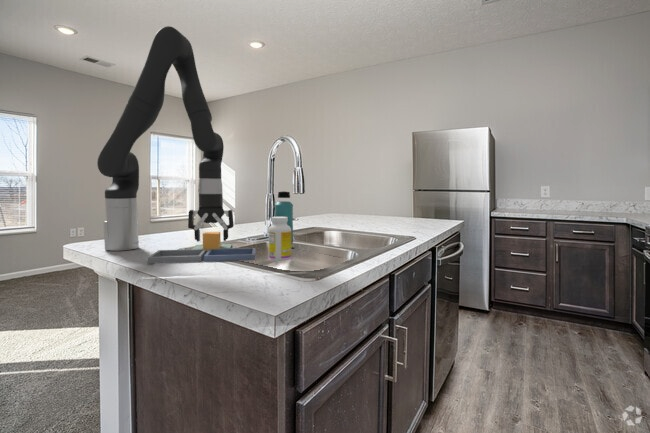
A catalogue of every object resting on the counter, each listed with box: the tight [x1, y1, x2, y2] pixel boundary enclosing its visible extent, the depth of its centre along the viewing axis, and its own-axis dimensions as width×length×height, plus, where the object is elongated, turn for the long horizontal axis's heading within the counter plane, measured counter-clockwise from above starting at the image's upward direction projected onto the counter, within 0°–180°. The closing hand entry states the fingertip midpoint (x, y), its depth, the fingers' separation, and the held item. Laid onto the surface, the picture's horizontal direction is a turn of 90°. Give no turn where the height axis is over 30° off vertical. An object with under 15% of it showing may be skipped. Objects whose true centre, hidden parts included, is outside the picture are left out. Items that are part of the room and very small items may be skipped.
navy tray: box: [203, 247, 256, 262], centre depth 105 cm, size 14×11×2 cm
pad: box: [192, 243, 233, 252], centre depth 117 cm, size 12×12×1 cm
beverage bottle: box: [273, 191, 294, 247], centre depth 119 cm, size 6×7×20 cm
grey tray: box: [146, 248, 207, 266], centre depth 103 cm, size 14×11×2 cm
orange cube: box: [202, 231, 221, 249], centre depth 116 cm, size 5×5×5 cm
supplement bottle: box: [268, 216, 292, 262], centre depth 103 cm, size 7×7×13 cm
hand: (211, 240), depth 116 cm, fingers open, 8 cm apart
